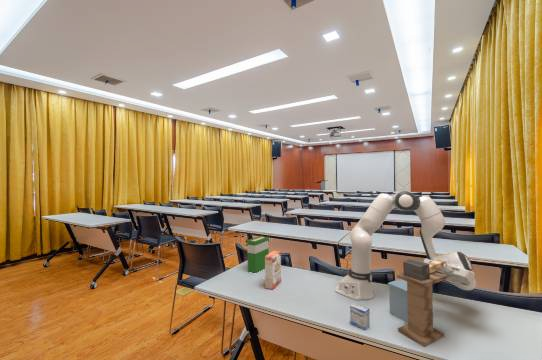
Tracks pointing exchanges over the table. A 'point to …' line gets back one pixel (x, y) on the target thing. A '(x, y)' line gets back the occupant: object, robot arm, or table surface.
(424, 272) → the mallet
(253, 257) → the hardback book
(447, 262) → the robot arm
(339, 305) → the table surface
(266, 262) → the cracker box
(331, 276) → the table surface
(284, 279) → the table surface
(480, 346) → the table surface
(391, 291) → the grey-blue block
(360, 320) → the medicine box
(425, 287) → the stand
